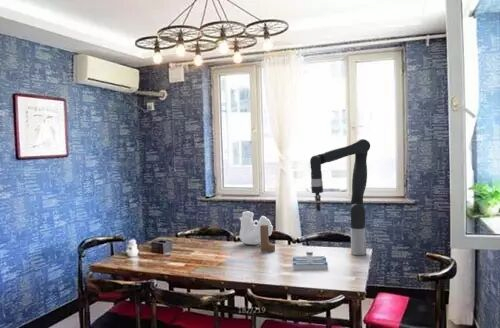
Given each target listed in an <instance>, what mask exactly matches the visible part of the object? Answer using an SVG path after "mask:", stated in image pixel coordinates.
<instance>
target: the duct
mask: <svg viewBox="0 0 500 328" xmlns="http://www.w3.org/2000/svg"><path fill="white" fill-rule="evenodd" d="M292 267H293V268H292V270H296V271H297V270H328V269H329V267H328V261H327V257H326V256H325V255H313V263H307V255H292Z"/></svg>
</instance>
